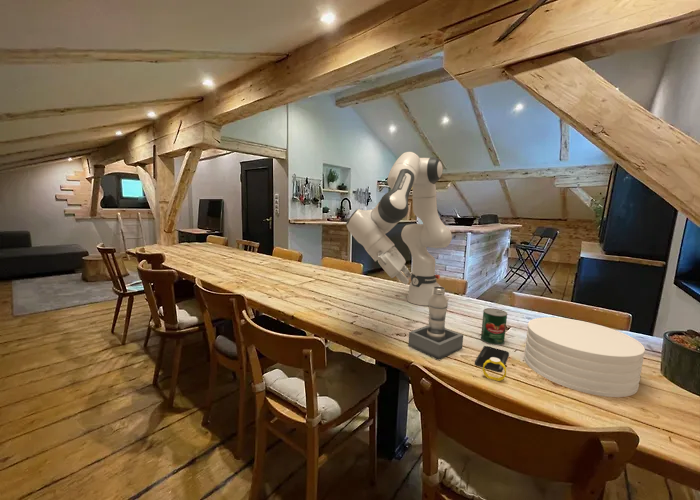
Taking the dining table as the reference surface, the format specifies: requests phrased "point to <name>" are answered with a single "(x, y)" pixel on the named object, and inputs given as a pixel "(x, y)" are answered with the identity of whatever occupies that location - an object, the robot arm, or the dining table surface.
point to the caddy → (435, 343)
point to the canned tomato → (493, 326)
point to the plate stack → (584, 356)
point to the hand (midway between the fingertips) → (408, 279)
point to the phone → (487, 354)
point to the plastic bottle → (437, 315)
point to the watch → (495, 361)
